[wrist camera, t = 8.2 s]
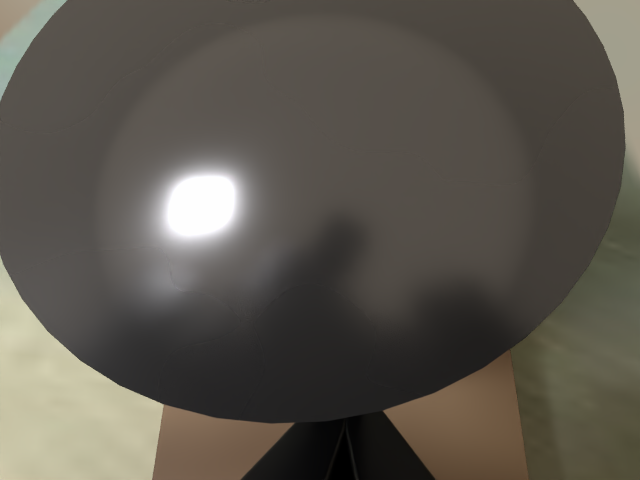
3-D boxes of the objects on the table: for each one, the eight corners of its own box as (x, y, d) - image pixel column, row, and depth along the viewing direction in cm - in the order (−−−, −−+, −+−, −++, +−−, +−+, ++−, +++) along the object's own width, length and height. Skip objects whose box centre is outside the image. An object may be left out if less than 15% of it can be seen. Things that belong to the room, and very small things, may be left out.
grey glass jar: (422, 416, 12) (728, 437, 2) (251, 412, 13) (-124, 413, 3) (412, 253, 14) (554, -120, 4) (264, 253, 15) (74, -88, 5)
